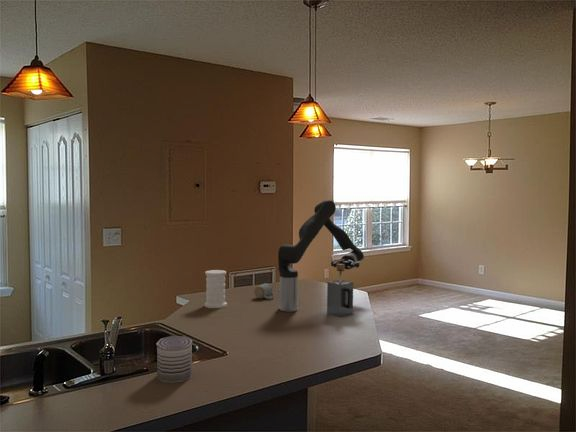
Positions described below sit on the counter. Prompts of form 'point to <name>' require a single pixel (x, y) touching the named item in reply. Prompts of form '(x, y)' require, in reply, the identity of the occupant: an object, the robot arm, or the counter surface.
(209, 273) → the decorative container
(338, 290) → the square hole block
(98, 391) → the counter surface
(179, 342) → the can
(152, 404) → the counter surface
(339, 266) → the plunger
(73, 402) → the counter surface
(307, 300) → the counter surface
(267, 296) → the ceramic mug
